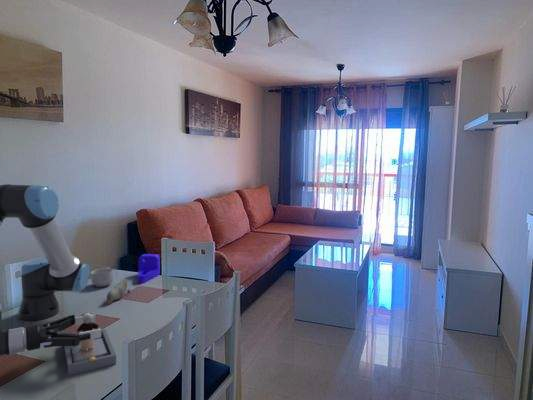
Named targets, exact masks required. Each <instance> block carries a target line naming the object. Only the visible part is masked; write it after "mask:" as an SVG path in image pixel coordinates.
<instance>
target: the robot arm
mask: <svg viewBox="0 0 533 400" xmlns="http://www.w3.org/2000/svg"><path fill="white" fill-rule="evenodd" d="M59 203H60V202H59V197H58V195H57V193H56V192H55V191H54V190H53V188H51V187H50V186H47V185H41V184H11V183H10V184H7V183H5V184H0V226H2V223H3V221H4V220H5V219H6V218H10V219H12V218H14V219H15V218H16V219H18V220H19V222H20V223H21V225H22V226H23V227H24V228H26V229H30V231H31V233H32V235H33V237H34V239H35V240H36V242H37V244H38V246H39V247H40V249H41V251H42V253H43V254H44V257H45V258H40V259H34V260H31V261H28V262H26V263H25V262H24V264H23V265H22V266H21V271H20V277H21V288H22V289H21V295H22V299H21V303H20V306H19V309H18V311H17V312H18V319H20V320H22V321H28V322H29V321H32V322H33V321H39V320H45V319H48V318H51V317H54V316H56V315H57V314H59V312H60V304H59V301H58V299H57V298H56V295H55V292H71V293H75V292H81V291H84V289H86V287H87V285H88V282H89V279H90V276H91V271H90V266H89V264H87V263H81V261H80V260H79V258H78V257H77V256H76V255H73V254H72V252H71V250H70V248H69V245H68V244H67V242H66V240H65V237H64V236H63V234H62V232H61V229H60V227H59V225H58V223H57V221H56V219H55V218H56V217H57V213H58V211H59V208H60V204H59ZM2 309H3V307H2V305H1V303H0V357H4V356H9V355H17V354H19V353H23V352H25V351H28V352H29V351H33V350H40V348H41V344H43V348H45V349H46V348H52V347H53V348H55V347H64V346H78V345H80V343H79V341H80V342H81V341H85V340H90V339H95V338H100V337H101V330H102V328H99V329H93V330H91V331H86V332H82V331H80V332H79V334H76V333H68V332H67V333H66V332H63V331H64V330H66V329H68V328H70V327H72V326H80V325H81V324H83V323H84V321H83V318H82V317H83V315H81V316H77V317H76V315H75V314H72V315H68V316H65V317H63V318H62V317H61V318H60V319H55V320H53V321H51V322H46V323H42V328H40V327H41V326H40V325H39V324H33V325H27V326H26V327H23V326H20V327H15V328H9V329H6V330H5V329H3V323H2V322H3V319H2V317H3V315H2ZM91 314H92V313H91ZM92 316H93V319H92V320H91V322H92V323H96V313H93V314H92Z"/></svg>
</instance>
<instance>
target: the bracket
mask: <svg viewBox="0 0 533 400" xmlns="http://www.w3.org/2000/svg"><path fill="white" fill-rule="evenodd" d="M159 275H161V257H160V255H159V254H156V253H153V254H152V253H144V254H141V255H140V256H139V258H138V271H137V281H138V284H142V285H143V284H145V283H147V282H150V281H151V280H153V279H155V278H157V277H159ZM154 277H155V278H154Z"/></svg>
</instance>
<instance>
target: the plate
mask: <svg viewBox="0 0 533 400" xmlns="http://www.w3.org/2000/svg"><path fill="white" fill-rule="evenodd" d="M93 347H94V349H91V350H88V349H86V350H85V351H80V348H81V343H80V345H78V346H71V350H72V355H73V360H74V363H77V362H81V361H86V360H90V358H91V357H95V358H99V357H103V356H107V351H106V349H105V346H104V343H103V341H102V338H100V339H95V340H94V341H93Z"/></svg>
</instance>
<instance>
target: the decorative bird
mask: <svg viewBox="0 0 533 400" xmlns="http://www.w3.org/2000/svg"><path fill="white" fill-rule="evenodd" d="M128 282H129V279H127V278H125V279H123V280H122V281H121V282H120V283H118V284H116V285H115V286H114V287H113V288H112V289H110V290H109V291H108V292H107V294H106V302H107V304H108V305H110V304H111V303H112V302H113V301H116V300H119V299H121V298H123V297H124V295H125V293H127V294H128V295H129V294H131V291H130V287H129V288H128Z"/></svg>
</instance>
